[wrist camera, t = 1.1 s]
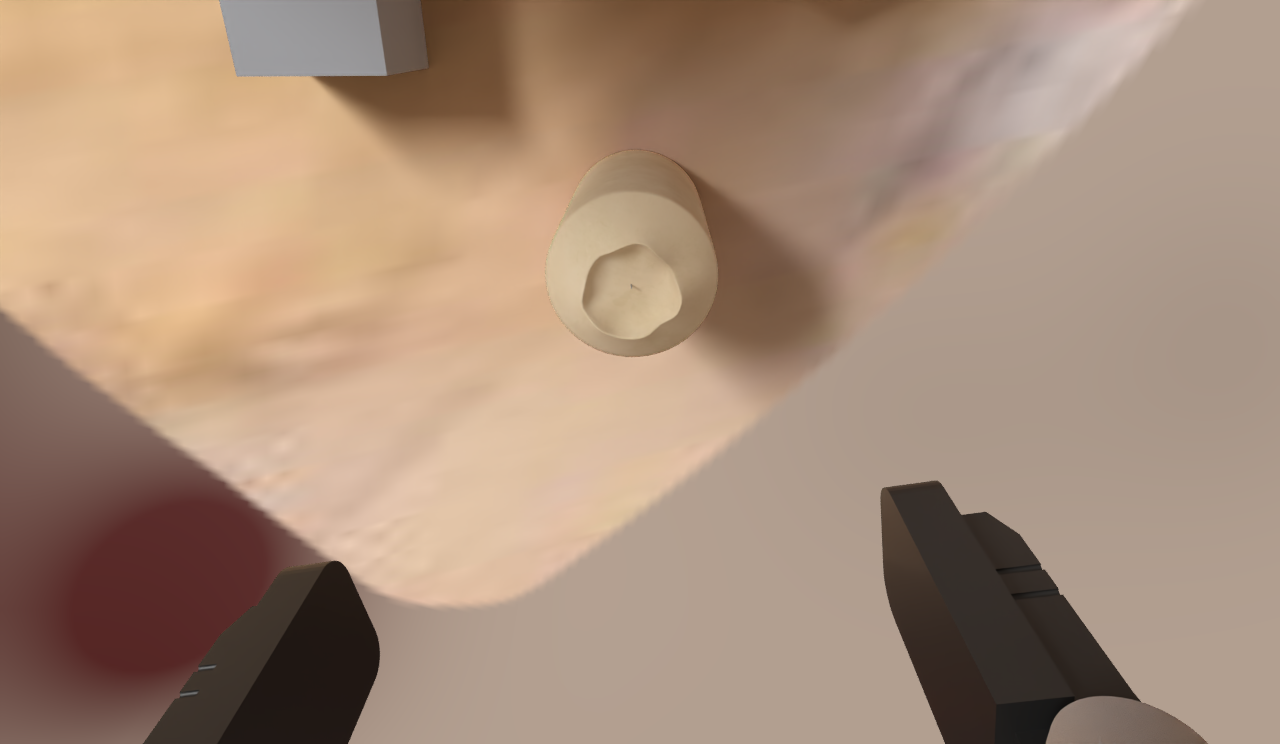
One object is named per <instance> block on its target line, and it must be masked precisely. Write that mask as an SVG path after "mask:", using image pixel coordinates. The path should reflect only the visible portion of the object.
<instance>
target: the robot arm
mask: <svg viewBox="0 0 1280 744" xmlns="http://www.w3.org/2000/svg"><path fill="white" fill-rule="evenodd" d="M881 521H882V546H883V568H884V579H885V586H886V591H887V596H888V600H889V604H890V607H891V611H892V613H893V616H894V619H895V622H896V624H897V627H898V629H899V631H900V634H901V636H902V639H903V641H904V644H905V646H906V648H907V651H908V653H909V656H910V658H911V661H912V663H913V666H914V668H915V671H916V673H917V676H918V678H919V681H920V683H921V685H922V688H923V690H924V693H925V695H926V698H927V700H928V703H929V705H930V708H931V710H932V713H933V715H934V717H935V720H936V722H937V725H938V727H939V730H940V732H941V735H942V737H943V740H944V742H945V744H1208V743H1207V742H1206V741H1205V740H1204V739H1203V738H1202V737H1201V736H1200V735H1199V734H1197V733H1196V732H1195V731H1194V730H1193V729H1191V728H1190V727H1189V726H1187V725H1186V724H1184V723H1183V722H1181V721H1180V720H1178V719H1177V718H1175V717H1173V716H1171V715H1170V714H1168V713H1166V712H1164V711H1162V710H1160V709H1158V708H1155V707H1153V706H1150V705H1148V704H1145V703H1142V702H1141V701H1140V700H1139V699H1138V698H1137V696H1136V695H1135V694H1134V693H1133V692H1132V690H1131V689H1130V687H1129V686H1128V684H1127V683H1126V682H1125V680H1124V679H1123V678H1122V676H1121V675H1120V673H1119V672H1118V671H1117V669H1116V668H1115V666H1114V665H1113V664H1112V662H1111V661H1110V660H1109V658H1108V657H1107V655H1106V654H1105V652H1104V651H1103V650H1102V648H1101V647H1100V646H1099V644H1098V643H1097V641H1096V640H1095V639H1094V637H1093V636H1092V634H1091V633H1090V632H1089V631H1088V629H1087V628H1086V626H1085V625H1084V623H1083V622H1082V621H1081V619H1080V618H1079V616H1078V615H1077V614H1076V612H1075V611H1074V609H1073V608H1072V607H1071V605H1070V604H1069V603H1068V601H1067V600H1066V598H1065V597H1064V596H1063V595H1060V594H1059V591H1058V587H1057V586H1056V584H1055V583H1054V582H1053V580H1052V579H1051V577H1050V576H1049V575H1048V573H1047V572H1046V571H1045V570H1042V568H1041V564H1040V562H1039V561H1038V559H1037V558H1036V557H1035V555H1034V554H1033V552H1032V551H1031V550H1030V548H1029V547H1028V546H1027V544H1026V543H1025V541H1024V540H1023V539H1022V537H1021V536H1020V534H1018V533H1017V532H1015V531H1014V530H1012V529H1010V528H1009V527H1007V526H1006V525H1005V524H1003V523H1002V522H1000V521H999V520H997V519H996V518H994V517H993V516H991V515H990V514H988V513H987V512H982V513H974V514H966V515H961V514H960V512H959V511H958V509H957V508H956V506H955V505H954V503H953V501H952V500H951V498H950V497H949V495H948V493H947V492H946V490H945V489H944V487H943V486H942V484H941V483H940V482H938V481H930V482H922V483H915V484H907V485H900V486H892V487H886V488H883V489H882V491H881ZM379 660H380V648H379V641H378V637H377V634H376V631H375V629H374V627H373V625H372V622H371V620H370V618H369V616H368V614H367V611H366V609H365V607H364V605H363V603H362V600H361V598H360V596H359V594H358V592H357V590H356V587H355V585H354V583H353V581H352V579H351V576H350V574H349V572H348V570H347V568H346V567H345V566H344V565H343V564H342V563H341V562H339V561H329V562H322V563H315V564H308V565H301V566H293V567H287V568H285V569H283V570H282V571H281V572H280V573H279V574H278V576H277V577H276V579H275V580H274V581H273V583H272V585H271V586H270V588H269V589H268V590H267V592H266V593H265V595H264V596H263V598H262V599H261V601H260V602H259V604H258V605H257V606H252V607H251V608H250V609H249V610H248V611H247V612H246V613H244V614H243V615H242V616H241V617H240V618H239V619H238V620H237V621H236V622H234V623H233V624H232V625H231V626H230V627H229V628H228V629H226V630H225V631H224V632H223V633H222V634H221V635H220V636H219V637H218V639H217V640H216V642H215V643H214V645H213V646H212V647H211V649H210V650H209V652H208V653H207V654H206V656H205V657H204V659H203V660H202V662H201V663H200V664H199V670H198V672H194V673H193V674H192V676H191V677H190V679H189V680H188V681H187V683H186V684H185V685H184V687H183V688H182V690H181V691H180V698H178V699H175V700H174V701H173V703H172V704H171V705H170V707H169V708H168V709H167V711H166V712H165V714H164V715H163V716H162V718H161V719H160V721H159V722H158V724H157V725H156V726H155V728H154V729H153V731H152V732H151V733H150V735H149V736H148V738H147V739H146V740H145V742H144V743H143V744H348V742H349V740H350V738H351V735H352V733H353V731H354V728H355V726H356V724H357V721H358V719H359V716H360V714H361V712H362V709H363V707H364V705H365V702H366V700H367V698H368V695H369V693H370V690H371V688H372V686H373V684H374V681H375V679H376V676H377V672H378V668H379Z"/></svg>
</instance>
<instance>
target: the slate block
mask: <svg viewBox="0 0 1280 744" xmlns="http://www.w3.org/2000/svg"><path fill="white" fill-rule="evenodd" d="M219 2H220V6H221V10H222V15H223V19H224V23H225V28H226V32H227V36H228V41H229V45H230V49H231V54H232V58H233V62H234V67H235V71H236V75H237V76H388V75H393V74H399V73H405V72H410V71H416V70H421V69H427V68H429V65H428V57H427V49H426V40H425V32H424V24H423V16H422V8H421V0H219Z"/></svg>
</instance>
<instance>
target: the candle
mask: <svg viewBox="0 0 1280 744" xmlns="http://www.w3.org/2000/svg"><path fill="white" fill-rule="evenodd" d="M545 279H546V287H547V292H548V296H549V299H550V302H551V304H552V306H553V308H554V310H555V312H556V314H557V316H558V317H559V319H560V320H561V322H562V323H563V324H564V325H565V327H566V328H567V329H568V330H569V331H570V332H571V333H572V334H573V335H575V336H576V337H577V338H578V339H579V340H581V341H582V342H584V343H585V344H587V345H589V346H591V347H593V348H595V349H597V350H599V351H602V352H605V353H608V354H612V355H616V356H625V357H640V356H649V355H653V354H657V353H660V352H663V351H666V350H668V349H670V348H672V347H674V346H676V345H678V344H680V343H681V342H682V341H684V340H685V339H687V338H688V337H689V336H690V335H691V334H692V333H694V332H695V331H696V330H697V328H698V327H699V326H700V325H701V324H702V322H703V321H704V319H705V318H706V316H707V315H708V313H709V311H710V309H711V307H712V305H713V302H714V299H715V296H716V291H717V286H718V263H717V258H716V254H715V250H714V246H713V242H712V239H711V235H710V232H709V228H708V225H707V221H706V218H705V214H704V211H703V207H702V204H701V200H700V198H699V195H698V192H697V190H696V187H695V186H694V184H693V182H692V180H691V179H690V177H689V176H688V175H687V173H686V172H685V171H684V170H683V169H682V168H681V167H680V166H679V165H677V164H676V163H675V162H674V161H672V160H670V159H669V158H667V157H665V156H663V155H660V154H658V153H655V152H651V151H645V150H627V151H621V152H618V153H614V154H612V155H610V156H607V157H605V158H604V159H602V160H600V161H599V162H598V163H596V164H595V165H594V166H593V167H591V169H590V170H589V171H588V172H587V173H586V174H585V175H584V177H583V178H582V180H581V181H580V183H579V185H578V186H577V188H576V190H575V192H574V194H573V196H572V199H571V201H570V203H569V205H568V207H567V209H566V211H565V214H564V216H563V218H562V220H561V222H560V224H559V226H558V229H557V231H556V233H555V235H554V237H553V239H552V242H551V245H550V247H549V250H548V254H547V259H546V267H545Z"/></svg>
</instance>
